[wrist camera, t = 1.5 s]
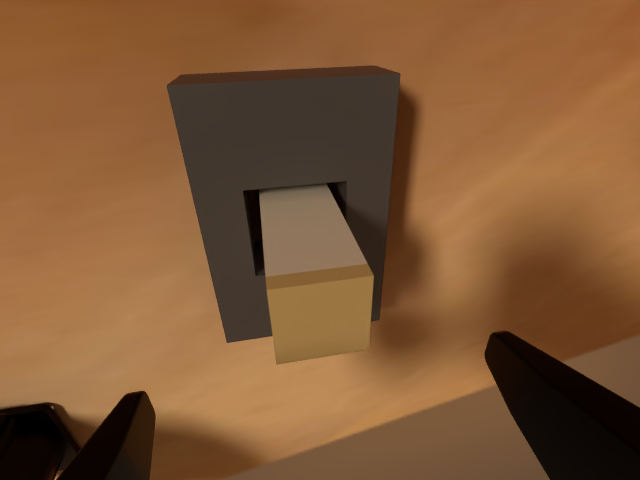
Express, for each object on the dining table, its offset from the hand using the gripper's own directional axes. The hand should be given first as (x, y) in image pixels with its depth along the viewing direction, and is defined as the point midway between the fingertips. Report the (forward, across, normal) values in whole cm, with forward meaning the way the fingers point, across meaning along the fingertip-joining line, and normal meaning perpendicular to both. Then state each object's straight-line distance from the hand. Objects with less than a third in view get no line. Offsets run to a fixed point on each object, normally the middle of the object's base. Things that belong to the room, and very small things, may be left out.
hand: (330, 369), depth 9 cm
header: (+10, 0, 0) cm, 10 cm away
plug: (+10, 0, 0) cm, 10 cm away
